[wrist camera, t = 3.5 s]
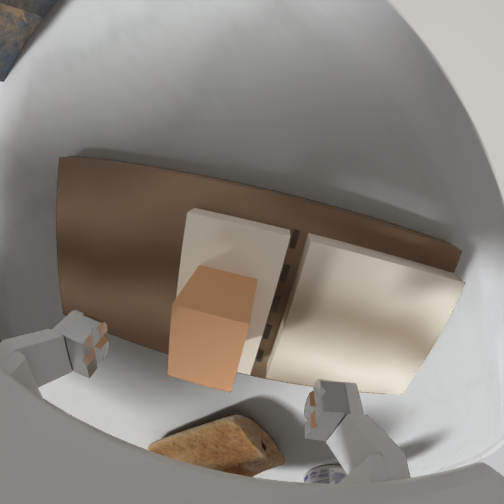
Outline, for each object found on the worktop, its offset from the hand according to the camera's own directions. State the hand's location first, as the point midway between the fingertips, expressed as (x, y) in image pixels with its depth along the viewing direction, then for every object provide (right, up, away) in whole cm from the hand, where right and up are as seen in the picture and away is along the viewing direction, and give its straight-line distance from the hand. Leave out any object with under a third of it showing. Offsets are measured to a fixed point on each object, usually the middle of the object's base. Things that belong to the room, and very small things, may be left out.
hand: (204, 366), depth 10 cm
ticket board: (+1, +2, +8) cm, 8 cm away
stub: (0, +2, +6) cm, 7 cm away
